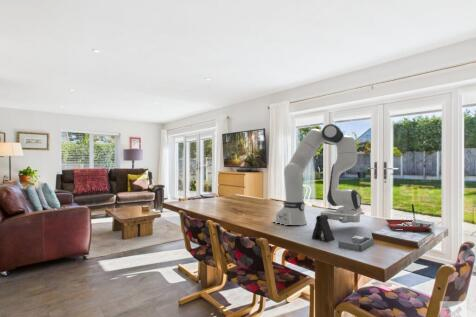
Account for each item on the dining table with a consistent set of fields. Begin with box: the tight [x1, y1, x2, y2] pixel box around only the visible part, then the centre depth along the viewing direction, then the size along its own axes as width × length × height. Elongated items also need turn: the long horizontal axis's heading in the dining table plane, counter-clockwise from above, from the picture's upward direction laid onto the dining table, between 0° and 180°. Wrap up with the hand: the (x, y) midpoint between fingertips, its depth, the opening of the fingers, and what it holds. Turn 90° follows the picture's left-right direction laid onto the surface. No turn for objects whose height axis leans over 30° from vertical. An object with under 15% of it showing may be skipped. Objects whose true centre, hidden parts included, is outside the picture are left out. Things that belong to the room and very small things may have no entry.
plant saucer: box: [385, 219, 430, 232], centre depth 155 cm, size 18×18×3 cm
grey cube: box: [351, 235, 366, 245], centre depth 124 cm, size 4×4×4 cm
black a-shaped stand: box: [311, 214, 335, 243], centre depth 137 cm, size 9×6×12 cm, turn 43°
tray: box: [337, 234, 375, 252], centre depth 125 cm, size 10×15×2 cm
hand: (332, 218), depth 145 cm, fingers open, 8 cm apart
